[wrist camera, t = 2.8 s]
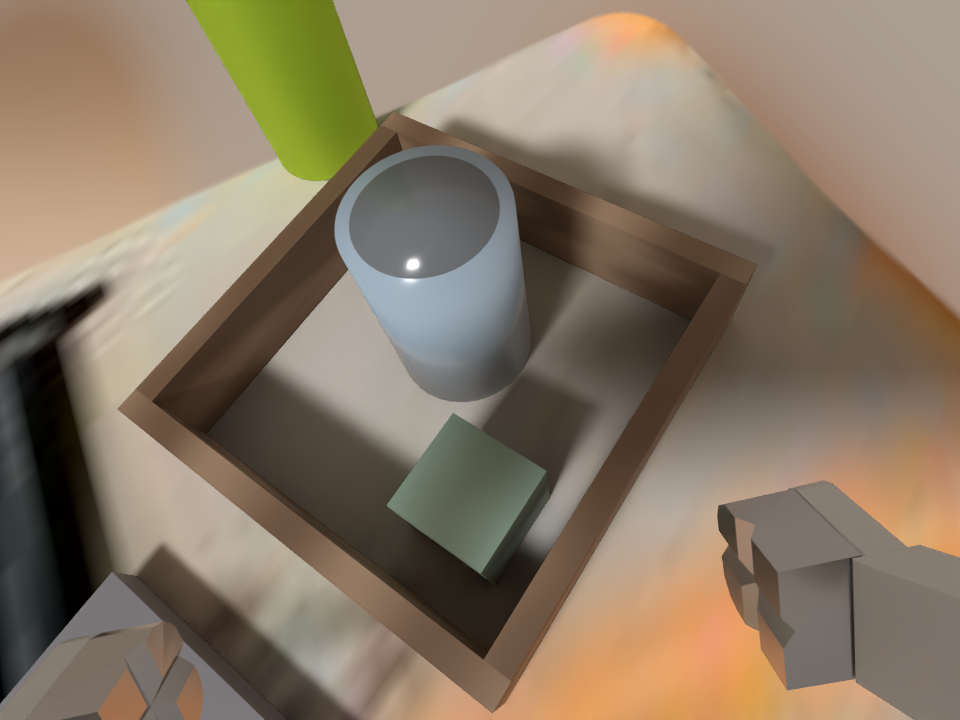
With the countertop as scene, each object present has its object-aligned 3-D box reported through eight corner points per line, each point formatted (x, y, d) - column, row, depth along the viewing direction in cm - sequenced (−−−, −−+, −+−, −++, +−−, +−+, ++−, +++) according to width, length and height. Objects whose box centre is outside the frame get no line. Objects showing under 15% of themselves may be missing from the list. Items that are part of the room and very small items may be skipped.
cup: (376, 361, 28) (297, 243, 20) (451, 266, 30) (407, 122, 22) (482, 426, 26) (442, 324, 18) (556, 320, 28) (551, 184, 19)
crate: (176, 440, 27) (117, 409, 24) (412, 170, 33) (393, 111, 29) (505, 702, 21) (492, 713, 18) (731, 317, 26) (757, 264, 23)
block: (413, 527, 24) (386, 505, 21) (469, 446, 26) (453, 413, 22) (494, 585, 23) (480, 573, 19) (550, 497, 24) (546, 470, 21)
